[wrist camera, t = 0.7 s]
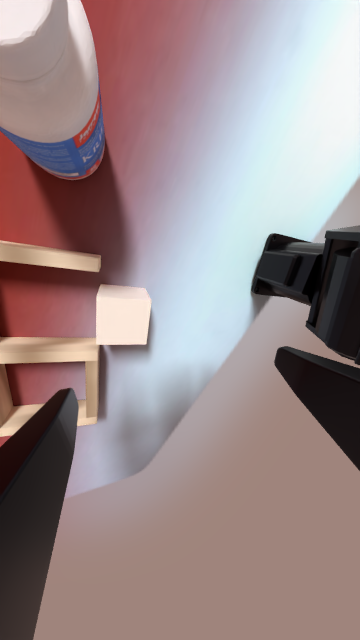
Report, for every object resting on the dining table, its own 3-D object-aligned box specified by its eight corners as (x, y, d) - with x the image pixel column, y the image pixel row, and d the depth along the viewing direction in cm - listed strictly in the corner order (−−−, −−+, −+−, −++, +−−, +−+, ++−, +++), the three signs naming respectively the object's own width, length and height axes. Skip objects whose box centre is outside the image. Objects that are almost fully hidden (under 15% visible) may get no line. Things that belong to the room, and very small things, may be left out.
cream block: (144, 288, 18) (151, 300, 15) (141, 325, 20) (146, 344, 16) (100, 283, 17) (96, 296, 13) (100, 323, 18) (96, 344, 15)
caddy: (101, 255, 16) (98, 258, 14) (98, 404, 22) (96, 423, 20) (-41, 234, 13) (-73, 234, 11) (2, 415, 19) (-12, 438, 17)
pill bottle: (104, 191, 14) (87, 128, 6) (17, 167, 12) (-192, 27, 4) (107, 94, 12) (88, -213, 4) (4, 49, 10) (-464, -722, 2)
